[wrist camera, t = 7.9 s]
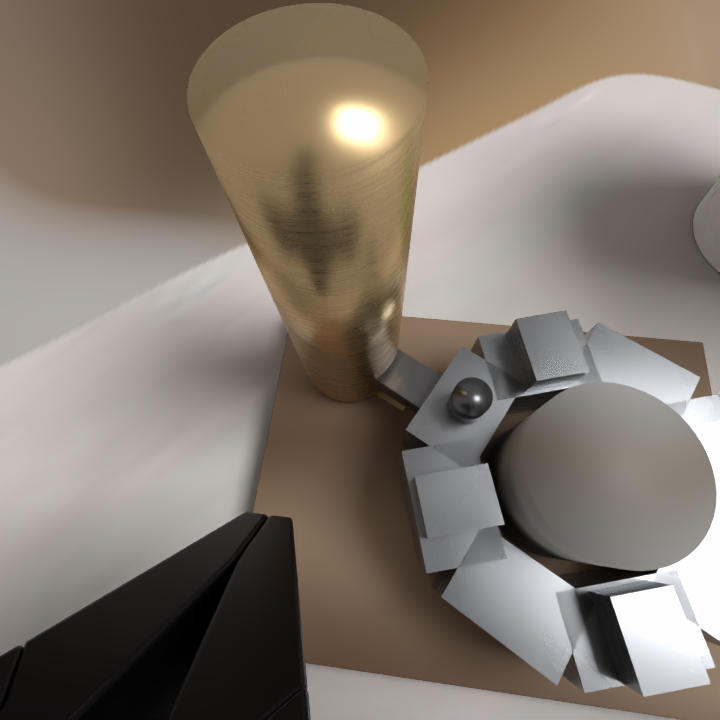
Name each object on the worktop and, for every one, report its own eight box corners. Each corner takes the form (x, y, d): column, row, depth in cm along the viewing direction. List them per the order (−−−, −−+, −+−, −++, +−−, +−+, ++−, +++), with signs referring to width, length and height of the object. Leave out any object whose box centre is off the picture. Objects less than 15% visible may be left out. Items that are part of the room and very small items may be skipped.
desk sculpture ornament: (629, 737, 11) (1972, 1842, 2) (232, 434, 14) (-41, 256, 5) (745, 450, 13) (1564, 275, 4) (383, 247, 17) (391, -110, 7)
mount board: (742, 717, 12) (1000, 850, 7) (236, 642, 13) (150, 711, 8) (683, 353, 16) (823, 273, 11) (297, 318, 17) (264, 231, 12)
